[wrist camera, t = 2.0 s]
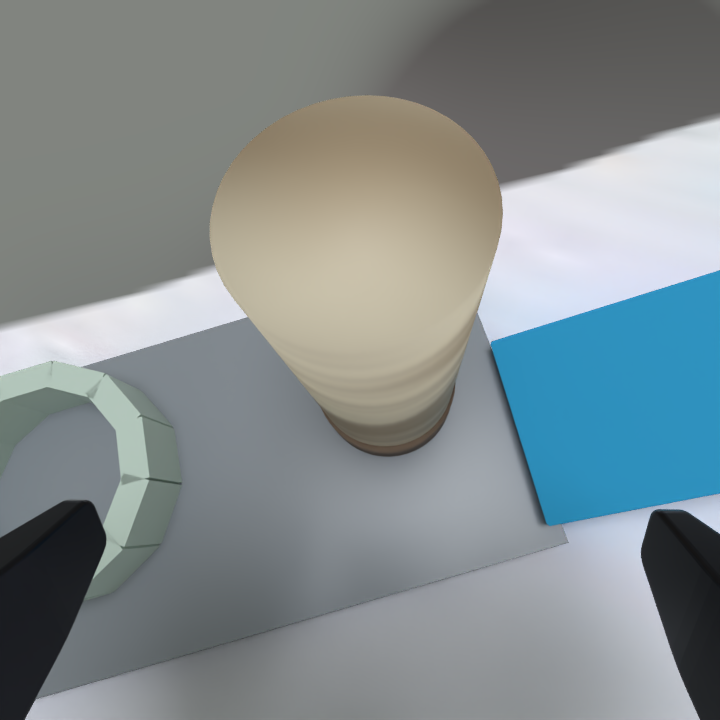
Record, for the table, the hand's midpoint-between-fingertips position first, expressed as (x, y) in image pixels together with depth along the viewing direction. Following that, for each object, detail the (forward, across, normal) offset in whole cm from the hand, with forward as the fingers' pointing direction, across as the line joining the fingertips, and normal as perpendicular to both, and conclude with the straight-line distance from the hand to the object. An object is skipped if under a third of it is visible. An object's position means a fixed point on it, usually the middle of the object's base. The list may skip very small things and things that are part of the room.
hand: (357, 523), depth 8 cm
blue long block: (+12, -14, +5) cm, 19 cm away
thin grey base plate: (+10, +6, +7) cm, 13 cm away
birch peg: (+11, 0, +4) cm, 12 cm away
